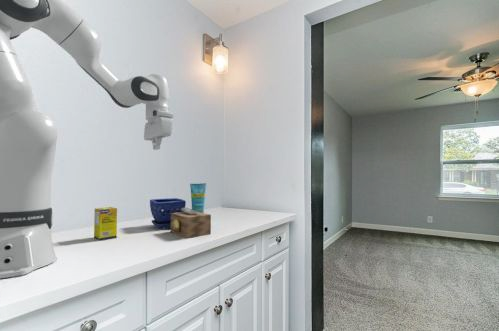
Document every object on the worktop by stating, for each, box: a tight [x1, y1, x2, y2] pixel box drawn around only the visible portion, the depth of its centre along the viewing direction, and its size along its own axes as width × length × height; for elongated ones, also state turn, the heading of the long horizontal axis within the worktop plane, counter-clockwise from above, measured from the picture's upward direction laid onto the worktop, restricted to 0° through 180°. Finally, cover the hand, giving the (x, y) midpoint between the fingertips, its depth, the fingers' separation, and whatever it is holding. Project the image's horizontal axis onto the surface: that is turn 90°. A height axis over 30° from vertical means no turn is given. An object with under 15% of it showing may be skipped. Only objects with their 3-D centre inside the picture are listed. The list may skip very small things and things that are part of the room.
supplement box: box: [93, 206, 118, 241], centre depth 93 cm, size 6×6×11 cm
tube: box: [189, 182, 207, 213], centre depth 116 cm, size 7×5×19 cm, turn 123°
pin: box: [172, 220, 181, 232], centre depth 101 cm, size 14×5×5 cm, turn 132°
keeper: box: [181, 207, 198, 214], centre depth 102 cm, size 3×9×1 cm, turn 42°
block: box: [170, 212, 212, 239], centre depth 101 cm, size 10×14×8 cm
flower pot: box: [149, 197, 187, 230], centre depth 115 cm, size 13×13×12 cm
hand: (156, 149), depth 104 cm, fingers closed
